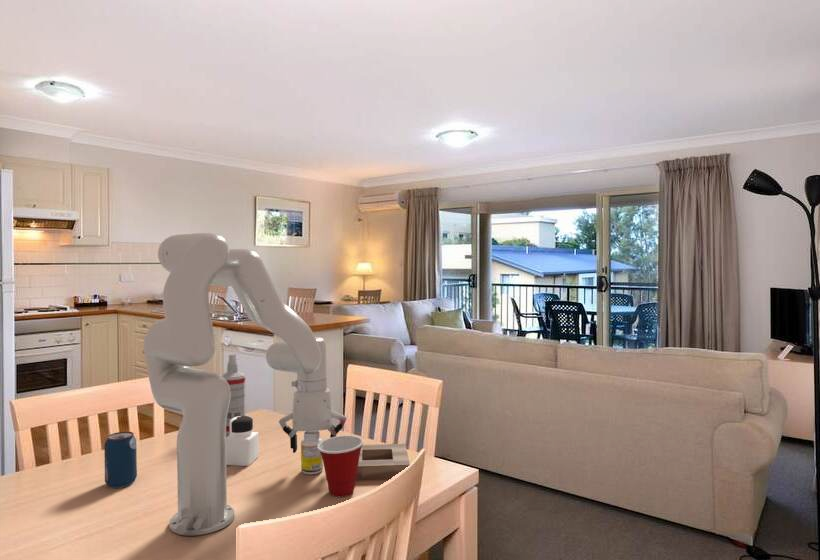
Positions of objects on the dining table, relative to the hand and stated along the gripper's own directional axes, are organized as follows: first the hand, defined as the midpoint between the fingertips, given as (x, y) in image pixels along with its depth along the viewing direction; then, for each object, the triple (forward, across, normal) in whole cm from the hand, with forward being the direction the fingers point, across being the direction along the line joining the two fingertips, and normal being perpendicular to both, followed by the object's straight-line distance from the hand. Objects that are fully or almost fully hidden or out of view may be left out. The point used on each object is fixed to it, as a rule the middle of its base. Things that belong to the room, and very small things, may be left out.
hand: (313, 450), depth 139 cm
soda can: (+5, -46, -5) cm, 47 cm away
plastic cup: (+5, +8, -14) cm, 17 cm away
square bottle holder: (+6, +16, 0) cm, 17 cm away
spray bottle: (+6, -30, +36) cm, 47 cm away
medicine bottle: (+5, -20, +8) cm, 23 cm away
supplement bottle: (+6, 0, -1) cm, 6 cm away
